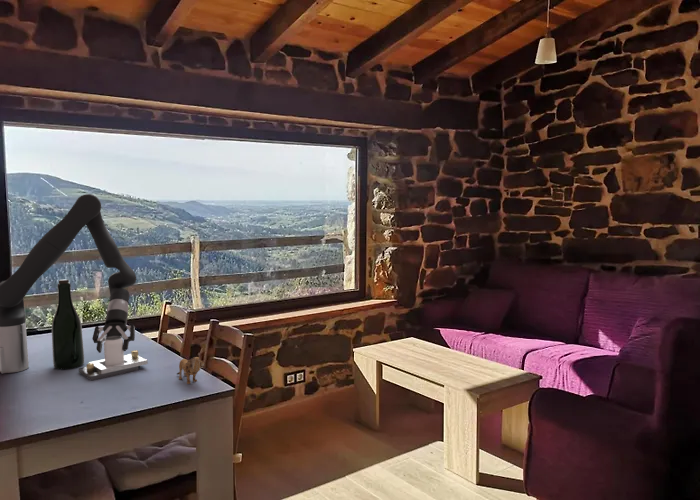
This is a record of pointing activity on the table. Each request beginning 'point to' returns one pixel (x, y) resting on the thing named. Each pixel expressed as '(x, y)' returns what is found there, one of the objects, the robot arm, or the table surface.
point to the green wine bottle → (66, 331)
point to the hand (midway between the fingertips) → (111, 351)
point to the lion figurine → (190, 368)
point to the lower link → (94, 375)
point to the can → (113, 351)
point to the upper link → (129, 362)
